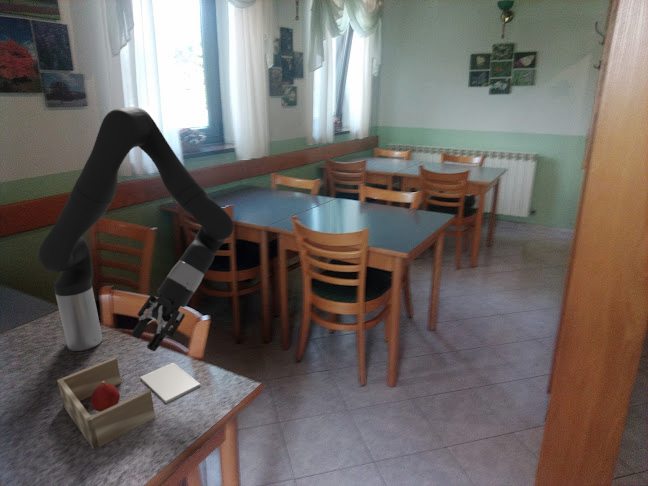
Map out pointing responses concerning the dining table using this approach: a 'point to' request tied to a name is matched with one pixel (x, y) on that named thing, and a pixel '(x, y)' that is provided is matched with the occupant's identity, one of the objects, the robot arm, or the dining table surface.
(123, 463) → the dining table surface
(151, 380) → the board
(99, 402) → the onion
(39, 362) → the dining table surface
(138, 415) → the open box
